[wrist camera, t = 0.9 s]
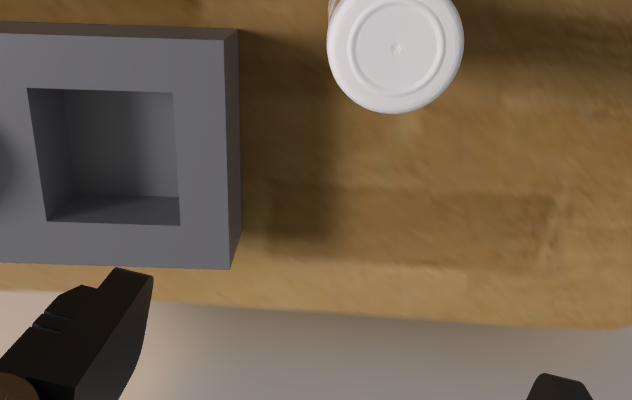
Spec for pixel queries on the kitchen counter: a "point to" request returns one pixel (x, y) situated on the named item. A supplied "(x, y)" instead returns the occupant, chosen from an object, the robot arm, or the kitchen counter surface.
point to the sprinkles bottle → (394, 51)
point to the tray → (119, 145)
